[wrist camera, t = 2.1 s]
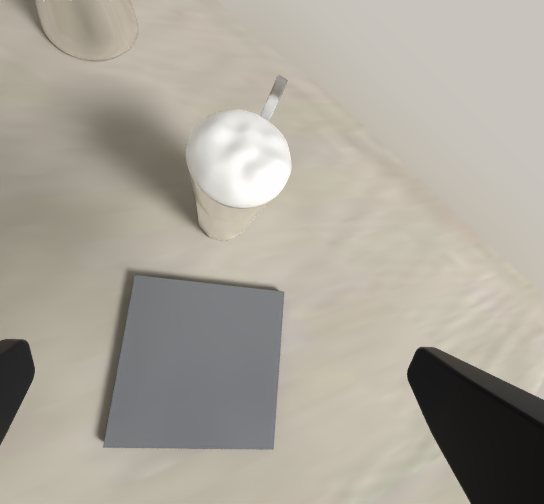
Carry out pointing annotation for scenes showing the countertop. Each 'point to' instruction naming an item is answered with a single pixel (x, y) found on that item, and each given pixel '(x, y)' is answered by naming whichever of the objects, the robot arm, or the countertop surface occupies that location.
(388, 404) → the countertop surface
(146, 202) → the countertop surface
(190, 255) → the countertop surface
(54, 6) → the beer glass
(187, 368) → the coaster
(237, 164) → the milkshake
